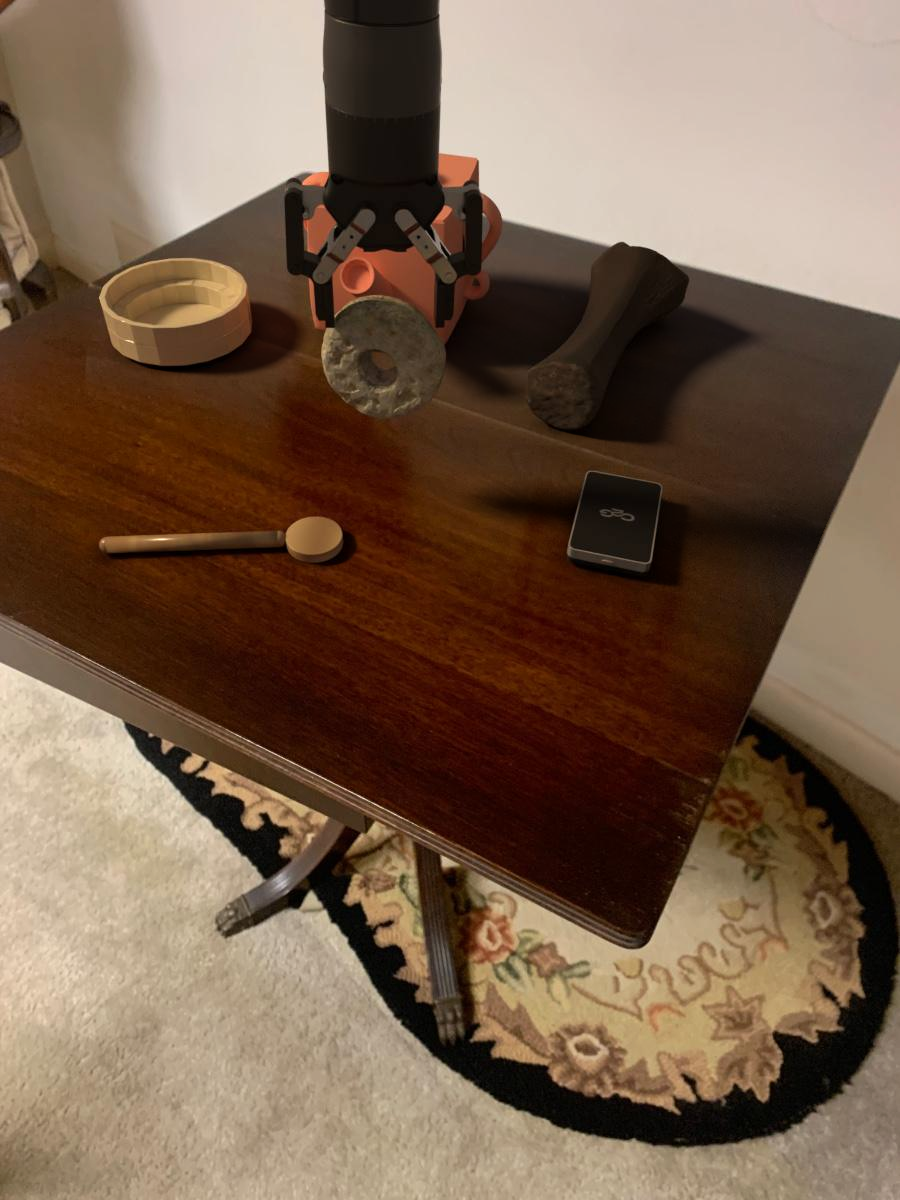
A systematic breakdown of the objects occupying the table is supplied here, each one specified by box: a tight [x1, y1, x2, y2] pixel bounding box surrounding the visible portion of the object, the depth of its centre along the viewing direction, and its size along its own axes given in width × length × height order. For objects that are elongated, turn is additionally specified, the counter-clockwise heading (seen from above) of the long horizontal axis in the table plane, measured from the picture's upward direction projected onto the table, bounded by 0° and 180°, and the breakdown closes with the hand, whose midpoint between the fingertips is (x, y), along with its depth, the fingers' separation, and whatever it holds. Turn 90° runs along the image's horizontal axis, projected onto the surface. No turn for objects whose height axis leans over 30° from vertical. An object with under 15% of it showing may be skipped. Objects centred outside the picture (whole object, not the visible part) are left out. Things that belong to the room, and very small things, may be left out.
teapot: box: [301, 152, 503, 346], centre depth 94 cm, size 25×23×18 cm
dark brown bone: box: [525, 241, 690, 431], centre depth 94 cm, size 11×10×28 cm
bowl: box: [98, 257, 253, 367], centre depth 96 cm, size 15×15×5 cm
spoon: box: [98, 516, 344, 564], centre depth 74 cm, size 20×5×1 cm, turn 95°
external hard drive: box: [566, 470, 663, 578], centre depth 77 cm, size 7×11×2 cm, turn 165°
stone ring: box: [320, 295, 447, 420], centre depth 71 cm, size 10×4×10 cm, turn 73°
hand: (385, 323), depth 69 cm, fingers closed on stone ring, 8 cm apart
